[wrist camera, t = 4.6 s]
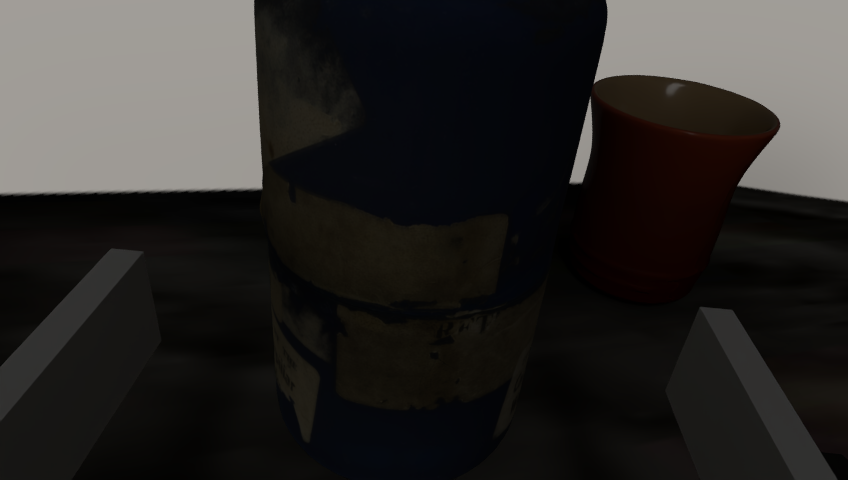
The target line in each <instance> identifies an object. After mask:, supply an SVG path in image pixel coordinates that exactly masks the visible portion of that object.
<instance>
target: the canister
mask: <svg viewBox="0 0 848 480" xmlns="http://www.w3.org/2000/svg"><path fill="white" fill-rule="evenodd" d="M254 15H255V38H256V39H255V40H256V57H257V58H256V59H257V81H258V100H259V119H260V137H261V154H262V168H263V180H262V186H263V190H262V196H261V202H260V213H261V215H262V219H263V224H264V227H265V231H266V236H267V239H268V246H269V270H270V288H271V306H272V322H273V338H274V356H275V373H276V384H277V394H278V401H279V405H280V410H281V413H282V416H283V419H284V421H285V423H286V426H287V428H288V430H289V431H290V433H291V434H292V436H293V437H294V439H295V440H296V442H297V443H298V444H299V445H300V446H301V447H302V448H303V449H304V450H305V451H306V452H307V454H308V455H310V456H311V457H312V458H313V459H315V460H316V461H317V462H318V463H320V464H321V465H322V466H324V467H326V468H328V469H329V470H331V471H333V472H335V473H336V474H338V475H341V476H343V477H345V478H348V479H350V480H450V479H454V478H456V477H458V476H460V475H462V474H464V473H466V472H468V471H470V470H471V469H473V468H474V467H476V466H477V465H478V464H480V463H481V462H482V461H483V460H485V459H486V458H487V457H488V456H489V455H490V454H491V453H492V452H493V451H494V449H495V448H496V447H497V446H498V444H499V443H500V442H501V440H502V439H503V437H504V436H505V434H506V432H507V430H508V428H509V426H510V424H511V421H512V418H513V416H514V412H515V409H516V406H517V402H518V397H519V393H520V389H521V385H522V380H523V377H524V373H525V369H526V364H527V360H528V356H529V353H530V349H531V345H532V341H533V337H534V333H535V328H536V323H537V319H538V315H539V311H540V307H541V303H542V299H543V295H544V291H545V287H546V283H547V278H548V274H549V271H550V267H551V260H552V252H553V248H554V243H555V239H556V235H557V231H558V226H559V222H560V218H561V213H562V209H563V205H564V202H565V198H566V194H567V190H568V186H569V182H570V178H571V174H572V170H573V165H574V162H575V157H576V153H577V149H578V145H579V141H580V137H581V133H582V129H583V124H584V120H585V116H586V112H587V108H588V103H589V100H590V96H591V92H592V88H593V84H594V79H595V75H596V71H597V67H598V63H599V59H600V54H601V50H602V46H603V42H604V36H605V30H606V25H607V4H606V0H254Z"/></svg>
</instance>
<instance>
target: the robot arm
mask: <svg viewBox="0 0 848 480" xmlns="http://www.w3.org/2000/svg"><path fill="white" fill-rule="evenodd" d="M160 342H161V337H160V332H159V327H158V322H157V317H156V312H155V307H154V302H153V297H152V292H151V287H150V282H149V277H148V272H147V267H146V262H145V257H144V252H141V251H130V250H120V249H110V250H109V251H108V252H107V254H106V255H105V256H104V257H103V258H102V259H101V260H100V261H99V262H98V263H97V264H96V265H95V266H94V267H93V269H92V270H91V271H90V272H89V273H88V274H87V275H86V276H85V277H84V278H83V279H82V280H81V281H80V282H79V283H78V285H77V286H76V287H75V288H74V289H73V290H72V291H71V292H70V293H69V294H68V295H67V296H66V297H65V298H64V299H63V301H62V302H61V303H60V304H59V305H58V306H57V307H56V308H55V309H54V310H53V311H52V312H51V313H50V314H49V315H48V317H47V318H46V319H45V320H44V321H43V322H42V323H41V324H40V325H39V326H38V327H37V328H36V329H35V330H34V331H33V333H32V334H31V335H30V336H29V337H28V338H27V339H26V340H25V341H24V342H23V343H22V344H21V345H20V346H19V347H18V349H17V350H16V351H15V352H14V353H13V354H12V355H11V356H10V357H9V358H8V359H7V360H6V361H5V362H4V364H3V365H2V366H1V367H0V480H72V478H73V477H74V475H75V474H76V472H77V470H78V469H79V467H80V466H81V464H82V463H83V461H84V460H85V458H86V456H87V455H88V453H89V452H90V450H91V449H92V447H93V446H94V444H95V443H96V441H97V439H98V438H99V436H100V435H101V433H102V432H103V430H104V429H105V427H106V425H107V424H108V422H109V421H110V419H111V418H112V416H113V415H114V413H115V412H116V410H117V408H118V407H119V405H120V404H121V402H122V401H123V399H124V398H125V396H126V394H127V393H128V391H129V390H130V388H131V387H132V385H133V384H134V382H135V381H136V379H137V377H138V376H139V374H140V373H141V371H142V370H143V368H144V367H145V365H146V363H147V362H148V360H149V359H150V357H151V356H152V354H153V353H154V351H155V349H156V348H157V346H158V345H159V343H160ZM665 392H666V394H667V397H668V399H669V402H670V404H671V407H672V409H673V412H674V415H675V417H676V420H677V422H678V425H679V427H680V430H681V432H682V435H683V437H684V440H685V443H686V445H687V448H688V450H689V453H690V455H691V458H692V460H693V463H694V465H695V468H696V471H697V473H698V476H699V478H700V480H848V460H847V459H846V458H845V457H844V456H843V455H842V454H832V453H822V452H820V451H819V449H818V447H817V446H816V444H815V442H814V441H813V439H812V438H811V436H810V434H809V433H808V431H807V430H806V428H805V426H804V425H803V423H802V421H801V420H800V418H799V417H798V415H797V413H796V412H795V410H794V409H793V407H792V405H791V404H790V402H789V400H788V399H787V397H786V396H785V394H784V392H783V391H782V389H781V388H780V386H779V384H778V383H777V381H776V380H775V378H774V376H773V375H772V373H771V371H770V370H769V368H768V367H767V365H766V363H765V362H764V360H763V359H762V357H761V355H760V354H759V352H758V350H757V349H756V347H755V346H754V344H753V342H752V341H751V339H750V338H749V336H748V334H747V333H746V331H745V329H744V328H743V326H742V325H741V323H740V321H739V320H738V318H737V317H736V315H735V313H734V312H733V310H726V309H716V308H706V307H700V308H699V310H698V313H697V315H696V318H695V320H694V322H693V325H692V327H691V330H690V332H689V334H688V337H687V339H686V342H685V344H684V346H683V349H682V351H681V354H680V356H679V358H678V361H677V363H676V366H675V368H674V370H673V373H672V375H671V378H670V380H669V382H668V385H667V387H666V390H665Z"/></svg>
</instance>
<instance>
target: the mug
mask: <svg viewBox="0 0 848 480" xmlns="http://www.w3.org/2000/svg"><path fill="white" fill-rule="evenodd" d="M590 97H591V109H592V131H593V133H592V148H591V154H590V159H589V163H588V166H587V170H586V173H585V177H584V179H583V182H582V186H581V189H580V193H579V197H578V200H577V204H576V208H575V212H574V217H573V219H572V221H571V224H570V232H571V233H570V237H569V246H570V249H569V258H570V262H571V264H572V266H573V268H574V269H575V271H576V272H577V273H578V274H579V275H580V276H581V277H582V278H583V279H584V280H585V281H586V282H587V283H588V284H589V285H591V286H592V287H593V288H595V289H597V290H598V291H600V292H602V293H604V294H606V295H608V296H610V297H613V298H615V299H618V300H622V301H625V302H629V303H635V304H644V305H654V304H663V303H669V302H673V301H676V300H679V299H681V298H683V297H684V296H686V295H687V294H688V293H689V292H690V291H691V289H692V288H693V286H694V284H695V283H696V281H697V280H698V278H699V277H700V275H701V273H702V272H703V271H704V270H705V268H706V267H707V266H708V264H709V261H710V255H711V253H712V251H713V248H714V246H715V243H716V241H717V238H718V236H719V233H720V230H721V228H722V225H723V222H724V219H725V216H726V213H727V210H728V207H729V204H730V201H731V199H732V196H733V194H734V191H735V189H736V187H737V185H738V183H739V182H740V180H741V178H742V177H743V175H744V173H745V172H746V171H747V169H748V168H749V167H750V165H751V164H752V162H753V161H754V160H755V159H756V158H757V156H758V155H759V154H760V153H761V151H762V150H763V149H764V148H765V147H766V145H767V144H768V143H769V142H770V141H771V140H772V138H773V137H774V136H775V135H776V134H777V132H778V130H779V128H780V122H779V119H778V118H777V116H776V115H775V114H774V113H773V112H771V111H770V110H769V109H767V108H766V107H764V106H763V105H761V104H759V103H758V102H756V101H753V100H751V99H749V98H746V97H744V96H741V95H738V94H736V93H733V92H730V91H727V90H724V89H720V88H716V87H713V86H710V85H706V84H702V83H697V82H692V81H686V80H681V79H674V78H666V77H657V76H645V75H624V76H614V77H608V78H604V79H601V80H599V81H597V82H596V83H595V84H593V88H592V92H591V96H590Z"/></svg>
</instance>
